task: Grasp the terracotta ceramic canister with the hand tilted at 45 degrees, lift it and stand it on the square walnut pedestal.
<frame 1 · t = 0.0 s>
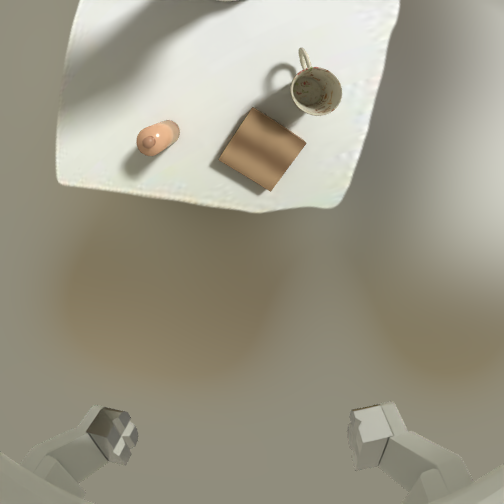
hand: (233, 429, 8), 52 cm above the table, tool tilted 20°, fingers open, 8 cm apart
mug: (303, 81, 45), on the table
pedestal: (261, 147, 53), on the table
canister: (167, 132, 51), on the table
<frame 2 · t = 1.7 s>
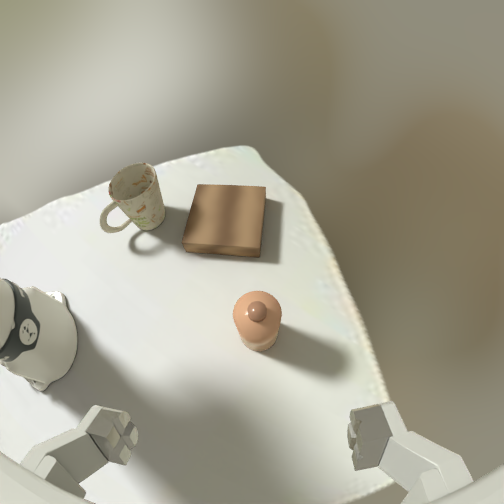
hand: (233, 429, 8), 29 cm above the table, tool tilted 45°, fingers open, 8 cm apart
mug: (141, 224, 49), on the table
pedestal: (227, 223, 48), on the table
canister: (258, 333, 39), on the table
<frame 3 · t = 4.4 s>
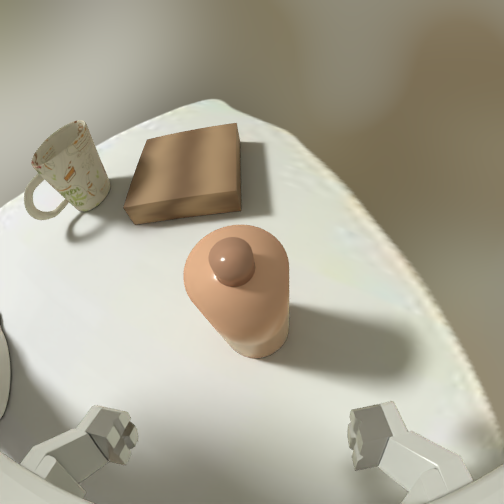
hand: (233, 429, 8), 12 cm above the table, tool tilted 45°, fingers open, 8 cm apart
mug: (82, 206, 33), on the table
pedestal: (190, 178, 32), on the table
canister: (256, 326, 22), on the table
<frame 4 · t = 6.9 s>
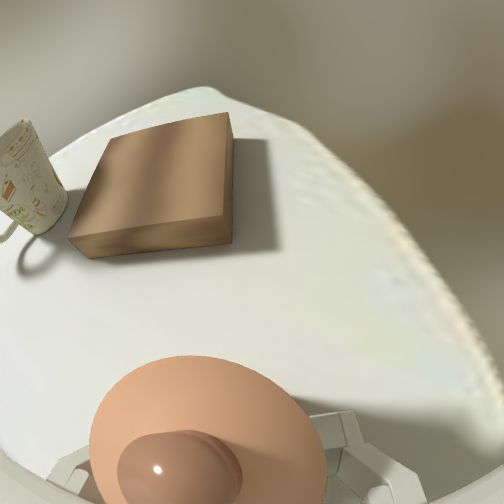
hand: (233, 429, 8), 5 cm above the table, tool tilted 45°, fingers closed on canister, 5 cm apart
mug: (37, 227, 24), on the table
pedestal: (162, 190, 23), on the table
canister: (253, 432, 13), on the table, touching gripper
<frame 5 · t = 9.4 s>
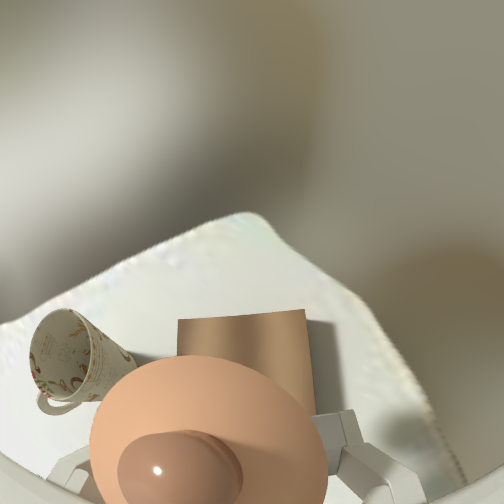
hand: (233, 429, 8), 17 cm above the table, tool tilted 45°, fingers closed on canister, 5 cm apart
mug: (107, 387, 26), on the table
pedestal: (247, 382, 25), on the table
canister: (253, 432, 13), point 12 cm above the table, touching gripper
when the fingers open (10 cm above the table, at t = 12.0 s): canister drops 1 cm, resting on pedestal.
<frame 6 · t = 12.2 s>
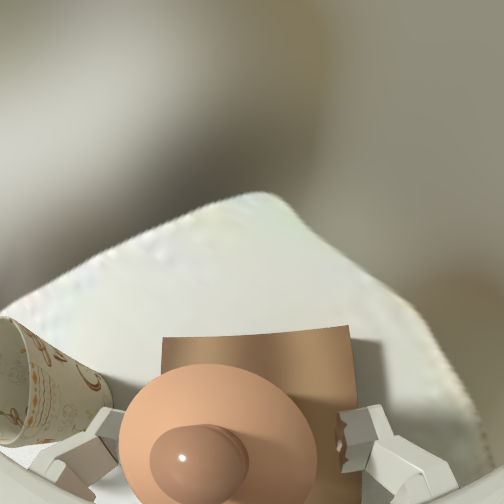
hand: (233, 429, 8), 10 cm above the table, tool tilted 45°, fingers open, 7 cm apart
mug: (76, 416, 17), on the table
pedestal: (261, 426, 16), on the table
canister: (255, 430, 14), point 3 cm above the table, touching pedestal
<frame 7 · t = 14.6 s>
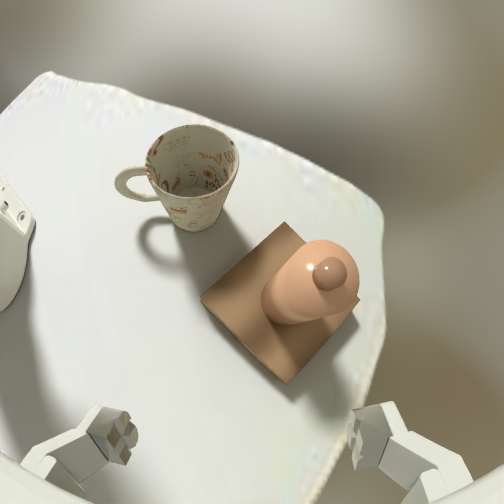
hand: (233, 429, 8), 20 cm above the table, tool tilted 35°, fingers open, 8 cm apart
mug: (176, 209, 32), on the table
pedestal: (279, 303, 31), on the table
canister: (286, 299, 28), point 3 cm above the table, touching pedestal
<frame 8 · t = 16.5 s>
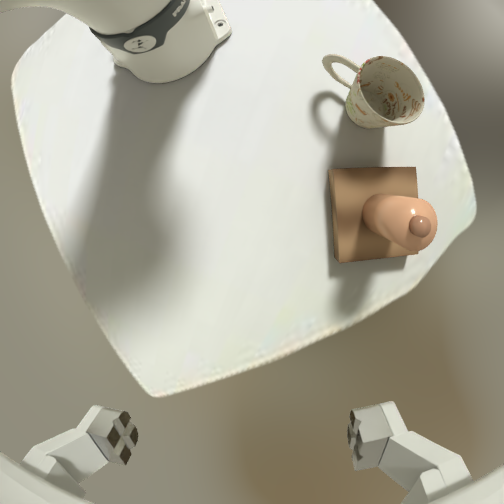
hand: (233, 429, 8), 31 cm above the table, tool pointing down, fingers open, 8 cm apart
mug: (352, 99, 33), on the table
pedestal: (372, 211, 36), on the table
canister: (380, 213, 34), point 3 cm above the table, touching pedestal
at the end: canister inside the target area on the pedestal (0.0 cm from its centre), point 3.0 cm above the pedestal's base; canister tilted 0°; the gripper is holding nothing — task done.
